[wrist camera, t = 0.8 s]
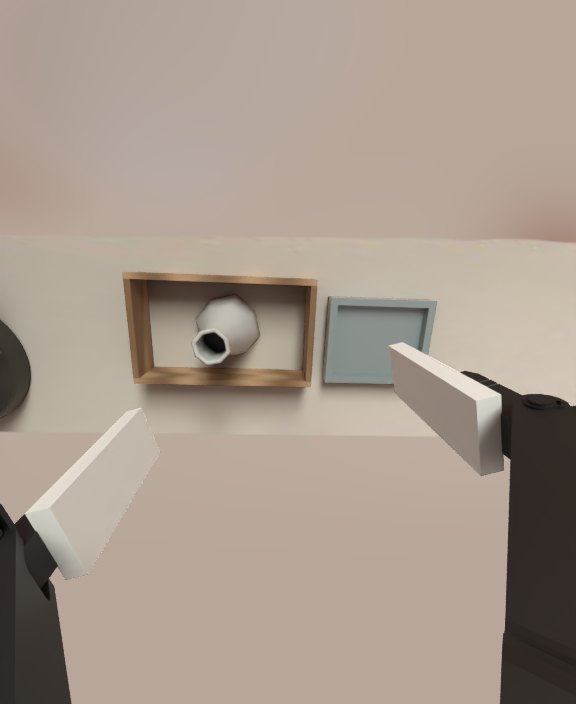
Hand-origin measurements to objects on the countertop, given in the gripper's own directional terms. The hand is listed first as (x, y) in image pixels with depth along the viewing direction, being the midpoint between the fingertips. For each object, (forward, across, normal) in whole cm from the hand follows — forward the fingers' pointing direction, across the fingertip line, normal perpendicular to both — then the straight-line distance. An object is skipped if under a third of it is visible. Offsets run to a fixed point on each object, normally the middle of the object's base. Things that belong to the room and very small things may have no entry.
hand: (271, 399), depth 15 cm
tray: (+20, +12, -5) cm, 24 cm away
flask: (+21, -5, +1) cm, 21 cm away
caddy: (+20, -5, +1) cm, 21 cm away
